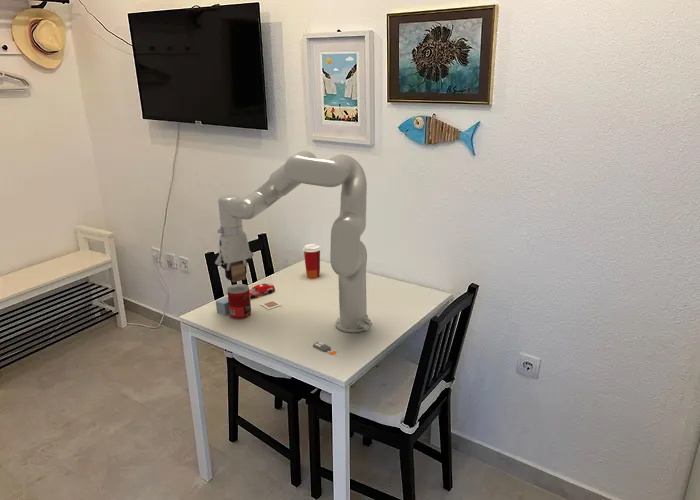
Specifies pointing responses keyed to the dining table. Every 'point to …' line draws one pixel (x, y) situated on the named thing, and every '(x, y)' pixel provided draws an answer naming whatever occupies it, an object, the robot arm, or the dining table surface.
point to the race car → (261, 290)
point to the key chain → (324, 348)
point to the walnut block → (237, 271)
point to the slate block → (223, 306)
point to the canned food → (239, 301)
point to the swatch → (271, 304)
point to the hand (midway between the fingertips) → (236, 277)
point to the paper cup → (312, 260)
